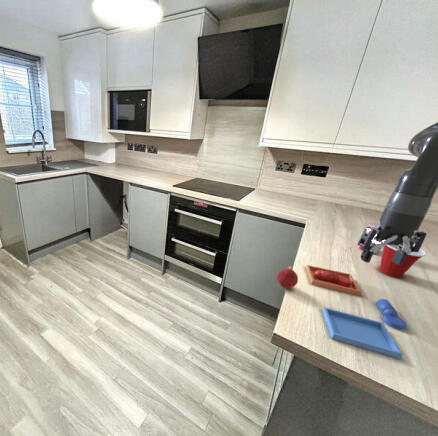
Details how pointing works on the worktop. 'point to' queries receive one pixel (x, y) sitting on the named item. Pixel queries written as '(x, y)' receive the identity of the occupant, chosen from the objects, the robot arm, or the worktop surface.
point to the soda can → (376, 240)
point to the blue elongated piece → (390, 315)
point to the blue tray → (361, 332)
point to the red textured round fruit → (287, 278)
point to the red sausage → (333, 278)
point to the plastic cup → (394, 269)
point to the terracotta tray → (329, 284)
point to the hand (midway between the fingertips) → (380, 262)
